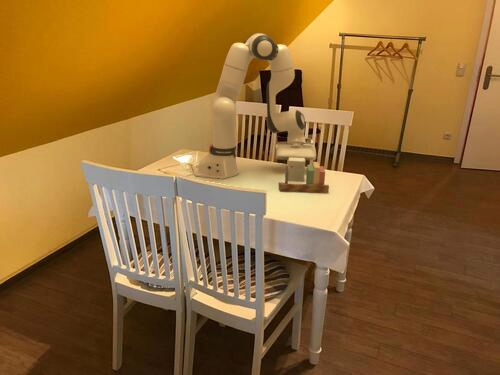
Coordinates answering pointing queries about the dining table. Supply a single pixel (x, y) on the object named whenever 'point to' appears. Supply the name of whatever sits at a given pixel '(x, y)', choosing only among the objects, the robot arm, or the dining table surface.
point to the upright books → (315, 174)
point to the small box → (296, 169)
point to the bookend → (285, 176)
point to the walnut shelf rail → (304, 188)
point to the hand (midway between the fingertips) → (295, 166)
